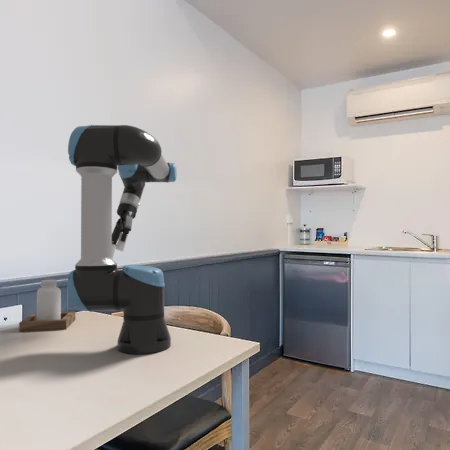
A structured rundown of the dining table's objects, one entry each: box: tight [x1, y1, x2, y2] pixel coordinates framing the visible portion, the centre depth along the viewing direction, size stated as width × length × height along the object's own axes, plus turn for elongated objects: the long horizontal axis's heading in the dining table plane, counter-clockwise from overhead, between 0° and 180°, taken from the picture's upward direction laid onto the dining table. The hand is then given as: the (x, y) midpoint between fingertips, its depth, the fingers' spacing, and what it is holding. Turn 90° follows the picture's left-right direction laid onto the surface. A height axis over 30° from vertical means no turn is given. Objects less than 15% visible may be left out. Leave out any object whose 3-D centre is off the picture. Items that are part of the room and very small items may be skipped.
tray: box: [18, 311, 76, 333], centre depth 145 cm, size 15×15×3 cm
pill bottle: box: [36, 279, 62, 321], centre depth 145 cm, size 8×8×15 cm
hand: (113, 254), depth 153 cm, fingers open, 13 cm apart
